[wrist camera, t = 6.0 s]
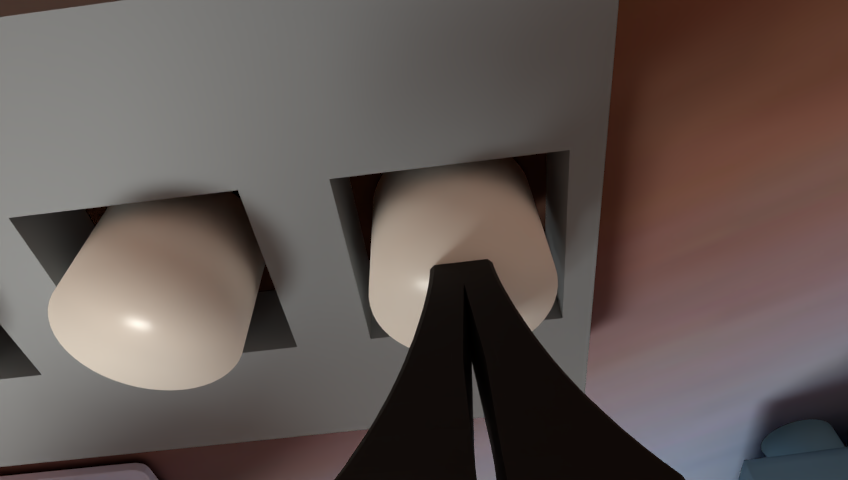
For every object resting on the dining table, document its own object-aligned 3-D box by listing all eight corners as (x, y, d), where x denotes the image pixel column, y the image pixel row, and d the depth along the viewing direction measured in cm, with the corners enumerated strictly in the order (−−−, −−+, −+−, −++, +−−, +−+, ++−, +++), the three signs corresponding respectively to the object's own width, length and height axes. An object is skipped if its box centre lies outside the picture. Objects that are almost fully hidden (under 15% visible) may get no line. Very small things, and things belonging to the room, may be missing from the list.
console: (566, 347, 21) (583, 406, 19) (-29, 411, 22) (-69, 473, 20) (588, -95, 12) (624, -68, 10) (-399, 42, 13) (-534, 89, 11)
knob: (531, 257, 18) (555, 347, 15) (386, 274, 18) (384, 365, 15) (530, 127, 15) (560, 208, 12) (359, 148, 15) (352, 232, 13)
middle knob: (285, 287, 18) (266, 380, 15) (144, 303, 18) (101, 398, 16) (240, 164, 15) (207, 252, 13) (75, 185, 16) (8, 275, 13)
